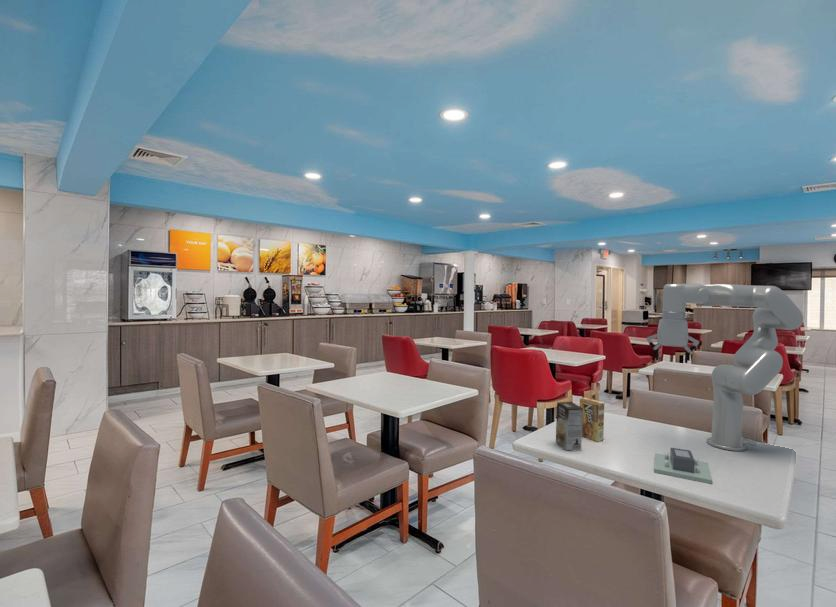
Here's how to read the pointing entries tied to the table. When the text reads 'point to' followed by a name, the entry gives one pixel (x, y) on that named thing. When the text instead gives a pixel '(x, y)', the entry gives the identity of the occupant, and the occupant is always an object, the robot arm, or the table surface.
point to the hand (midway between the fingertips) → (671, 361)
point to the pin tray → (665, 467)
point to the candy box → (592, 419)
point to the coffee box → (569, 425)
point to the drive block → (682, 460)
